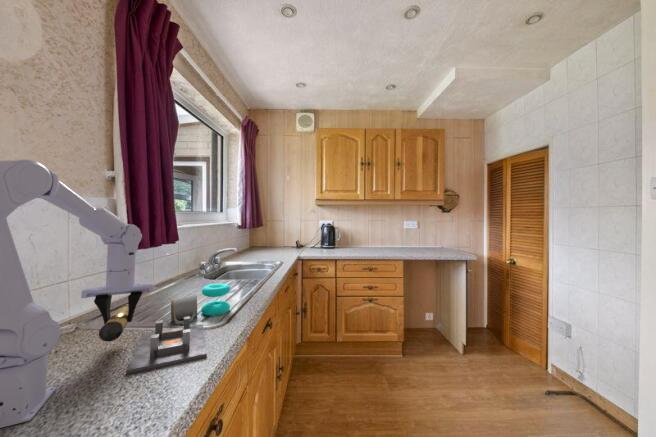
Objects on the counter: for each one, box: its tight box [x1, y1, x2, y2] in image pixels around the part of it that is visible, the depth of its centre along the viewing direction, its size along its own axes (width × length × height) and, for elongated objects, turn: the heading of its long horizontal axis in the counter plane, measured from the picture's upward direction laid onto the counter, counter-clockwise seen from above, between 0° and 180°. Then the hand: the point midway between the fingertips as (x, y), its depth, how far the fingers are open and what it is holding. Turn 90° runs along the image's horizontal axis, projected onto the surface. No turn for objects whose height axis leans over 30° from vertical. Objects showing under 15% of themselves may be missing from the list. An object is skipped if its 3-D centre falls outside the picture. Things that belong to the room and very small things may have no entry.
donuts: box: [200, 282, 231, 317], centre depth 96 cm, size 10×10×10 cm
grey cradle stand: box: [125, 316, 208, 376], centre depth 68 cm, size 21×16×6 cm
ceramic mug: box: [170, 294, 198, 325], centre depth 88 cm, size 11×8×8 cm
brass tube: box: [98, 303, 136, 343], centre depth 65 cm, size 16×4×4 cm, turn 29°
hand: (118, 322), depth 65 cm, fingers closed on brass tube, 4 cm apart
